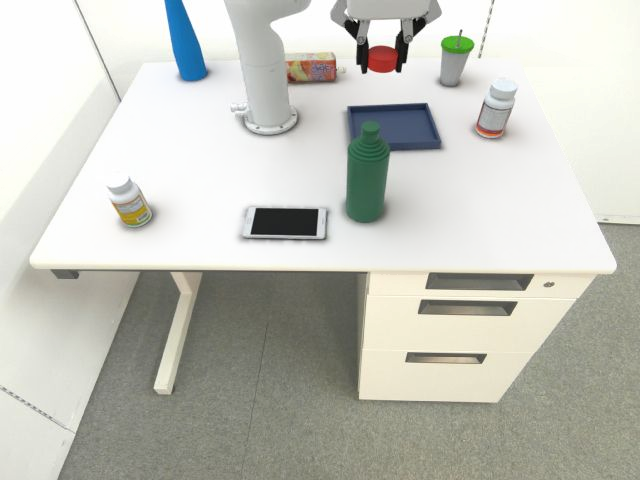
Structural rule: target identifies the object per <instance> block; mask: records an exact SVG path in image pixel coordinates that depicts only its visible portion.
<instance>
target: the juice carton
mask: <svg viewBox="0 0 640 480" xmlns="http://www.w3.org/2000/svg"><path fill="white" fill-rule="evenodd" d="M285 63H286V73H287V83H293V82H294V83H297V82H334V81H335V80H336V79H337V59H336V55H335V52H333V51H323V52H320V51H319V52H292V53H291V52H290V53H285Z"/></svg>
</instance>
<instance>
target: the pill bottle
mask: <svg viewBox="0 0 640 480" xmlns="http://www.w3.org/2000/svg"><path fill="white" fill-rule="evenodd" d="M518 88H519V87H518V83H516V82H515V81H513V80H511V79H508V78H496V79H494V80H493V81H492V82H491V84H490V88H489V91H488V92H487V93H486V94H485V96H484V98H483V102H482V105H481V107H480V111H479V115H478V118H477V121H476V124H475V132H476V133H477V134H478V135H480V136H481V137H483V138H486V139H496V138H499V137H502V135H503V134H504V132H505V129H506V127H507V125H508V121H509V119H510V117H511V114H512V110H513V108H514V106H515V103H516V98H515V96H516V93H517V90H518Z"/></svg>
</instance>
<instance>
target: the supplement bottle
mask: <svg viewBox="0 0 640 480" xmlns="http://www.w3.org/2000/svg"><path fill="white" fill-rule="evenodd" d="M105 186H106V187H107V189H108V192H107V196H108V199H109V201H110V203H111V204H112V206H113V208H114V210H115V211H116V213H117V214H118V216H119V218H120V219H121V221H122V222H123V224H124V225H125V226H126V227H129V228H138V227H142V226H144V225H146V224H147V223H148V222H150V220H151V218H152V215H153V213H152V209H151V207H150V206H149V202H148V201H147V199H146V197H145V195H144V194H143V191H142V190H141V188H140V186H139V184H138V183H137V182H135V181H133V180H132V179H131V177H130V175H129V174H128V173H127V172H124V171H120V172H119V171H118V172H115V173H112V174H110V175H109V176H108V177H107V178H106V179H105Z"/></svg>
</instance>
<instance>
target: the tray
mask: <svg viewBox="0 0 640 480" xmlns="http://www.w3.org/2000/svg"><path fill="white" fill-rule="evenodd" d="M346 114H347V123H348V131H349V139H350V143H351V142H352V141H353V140H354V139H355V138H357V137H359V136H361V126H362V124H363V123H364V122H367V121H374V122H377V123H378V124H379V126H380V132H379V137H381V138H382V139H383V140H385V141H386V142H387V143H388V145H389V147H390V152H391V151H413V150H438V149H440V148H441V144H442V139H441V136H440V134H439V131H438V128H437V125H436V123H435V120H434V116H433V114H432V111H431V109H430V106H429V104H428V102H414V103H413V102H412V103H411V102H410V103H392V104H391V103H388V104H386V103H385V104H366V105H365V104H364V105H347V106H346Z"/></svg>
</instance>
